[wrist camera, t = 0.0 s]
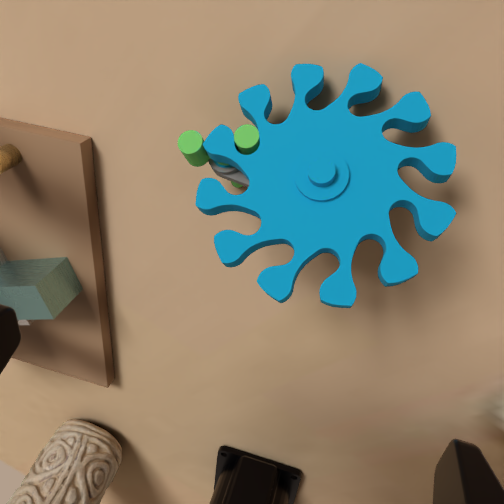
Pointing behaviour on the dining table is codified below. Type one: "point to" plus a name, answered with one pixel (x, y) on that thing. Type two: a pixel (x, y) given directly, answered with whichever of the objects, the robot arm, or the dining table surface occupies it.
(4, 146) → the dowel pin
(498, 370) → the dining table surface
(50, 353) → the post board
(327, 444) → the dining table surface
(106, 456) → the carving
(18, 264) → the grey piece
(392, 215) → the dining table surface
